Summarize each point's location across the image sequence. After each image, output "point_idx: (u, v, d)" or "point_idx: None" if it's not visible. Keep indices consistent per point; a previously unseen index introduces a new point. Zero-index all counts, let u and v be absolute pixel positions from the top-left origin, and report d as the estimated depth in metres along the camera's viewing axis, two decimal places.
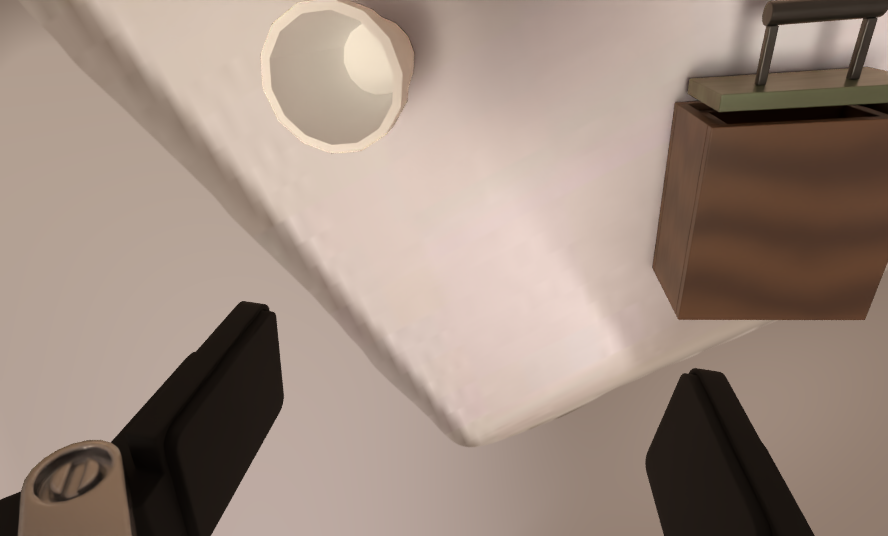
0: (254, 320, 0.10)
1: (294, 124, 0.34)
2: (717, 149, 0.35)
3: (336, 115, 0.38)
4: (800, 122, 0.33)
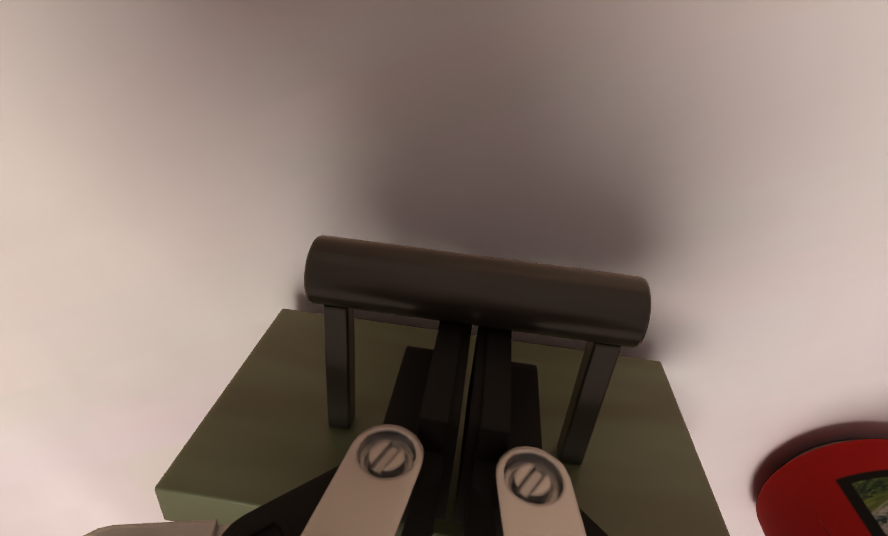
0: None
1: None
2: None
3: None
4: None
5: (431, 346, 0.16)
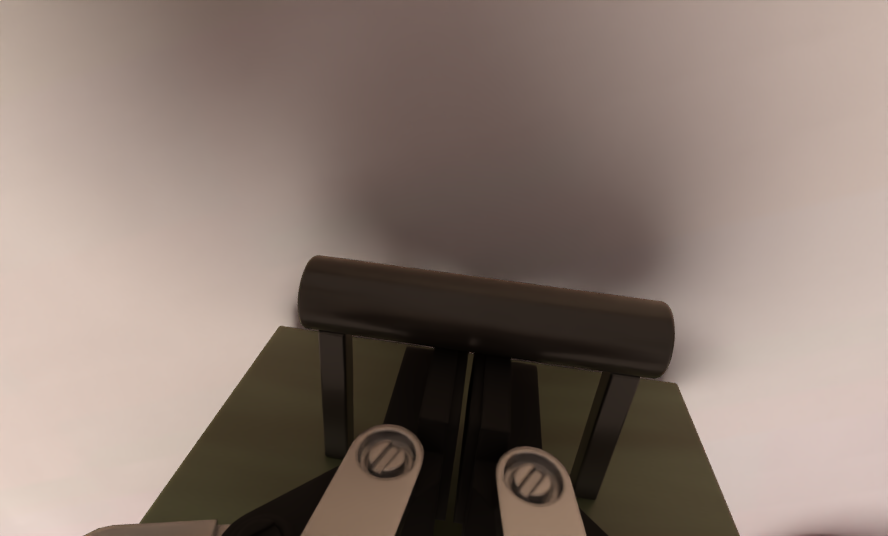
0: None
1: None
2: None
3: None
4: None
5: None
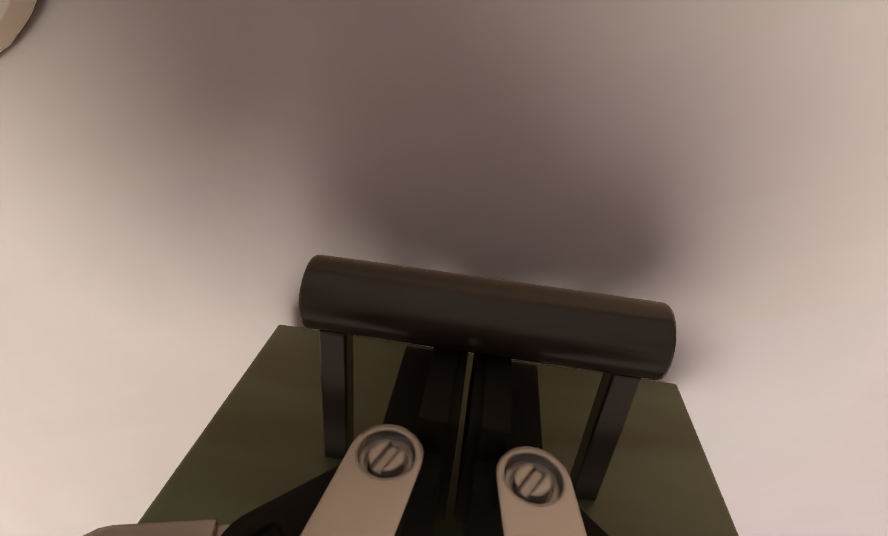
0: None
1: None
2: None
3: None
4: None
5: None
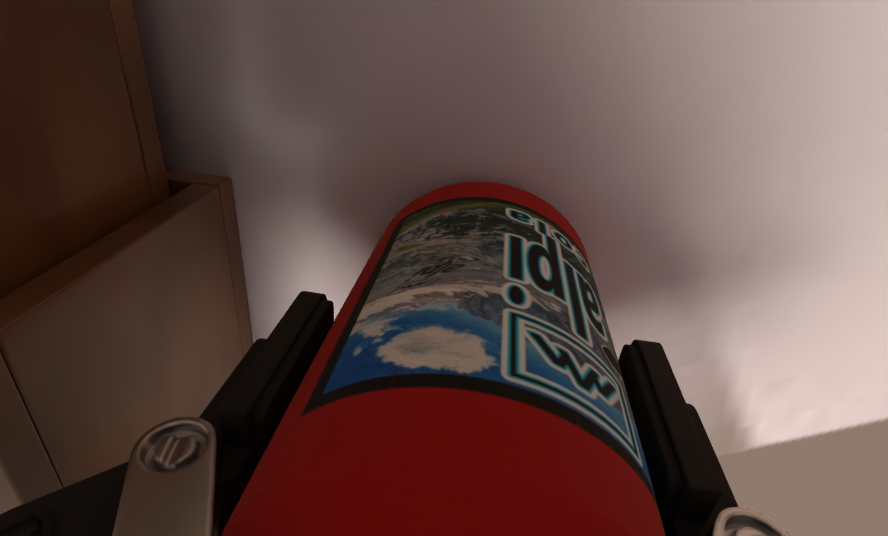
0: (316, 308, 0.11)
1: None
2: None
3: None
4: None
5: None
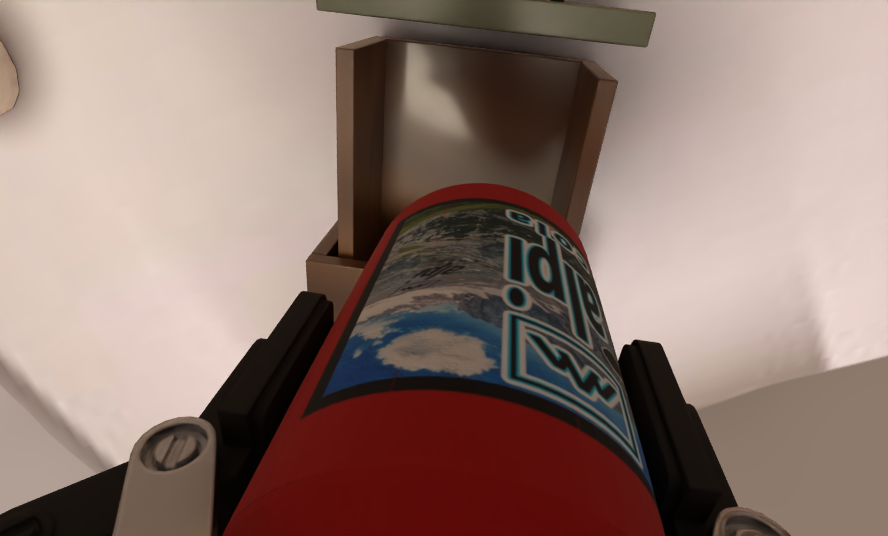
0: (316, 308, 0.11)
1: None
2: (318, 288, 0.25)
3: None
4: None
5: None
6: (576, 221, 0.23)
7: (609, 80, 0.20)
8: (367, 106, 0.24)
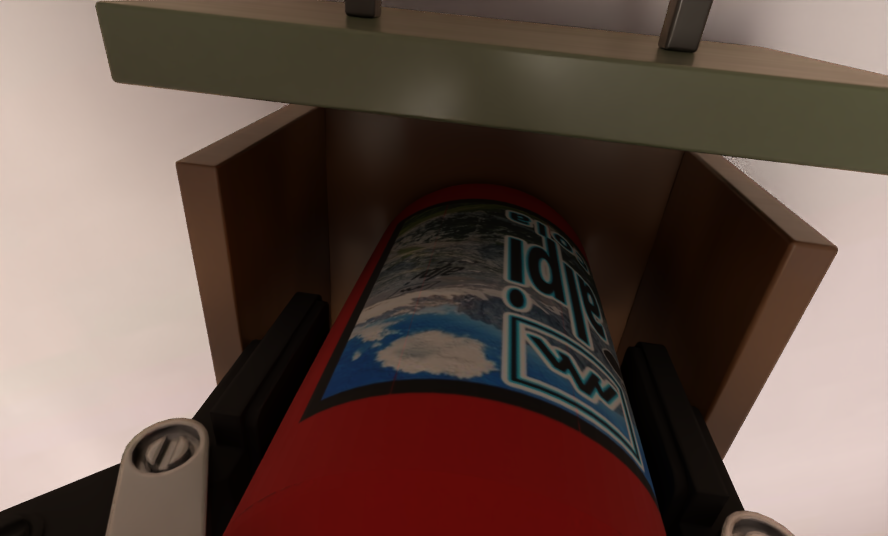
0: (312, 309, 0.11)
1: None
2: None
3: None
4: None
5: (472, 18, 0.13)
6: None
7: (818, 245, 0.08)
8: (279, 245, 0.12)
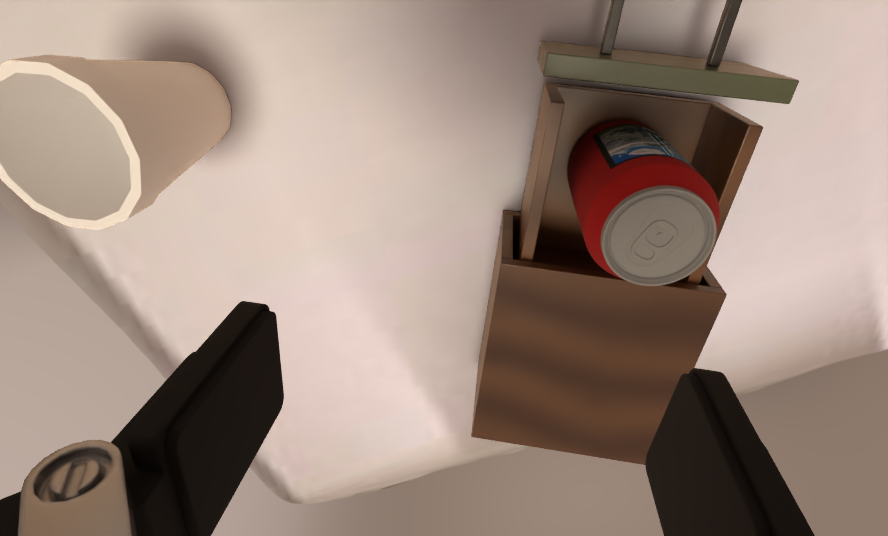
0: (254, 320, 0.10)
1: (22, 188, 0.29)
2: (506, 285, 0.32)
3: (105, 172, 0.33)
4: (589, 274, 0.31)
5: (626, 51, 0.31)
6: None
7: (757, 126, 0.27)
8: None
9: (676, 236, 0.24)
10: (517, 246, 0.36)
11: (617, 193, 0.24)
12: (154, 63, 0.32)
